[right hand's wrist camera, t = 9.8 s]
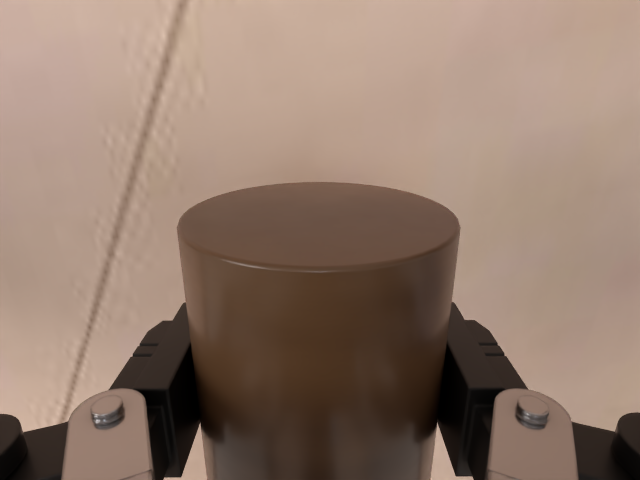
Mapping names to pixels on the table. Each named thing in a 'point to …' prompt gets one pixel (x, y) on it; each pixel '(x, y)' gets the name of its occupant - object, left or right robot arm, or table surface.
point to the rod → (318, 329)
